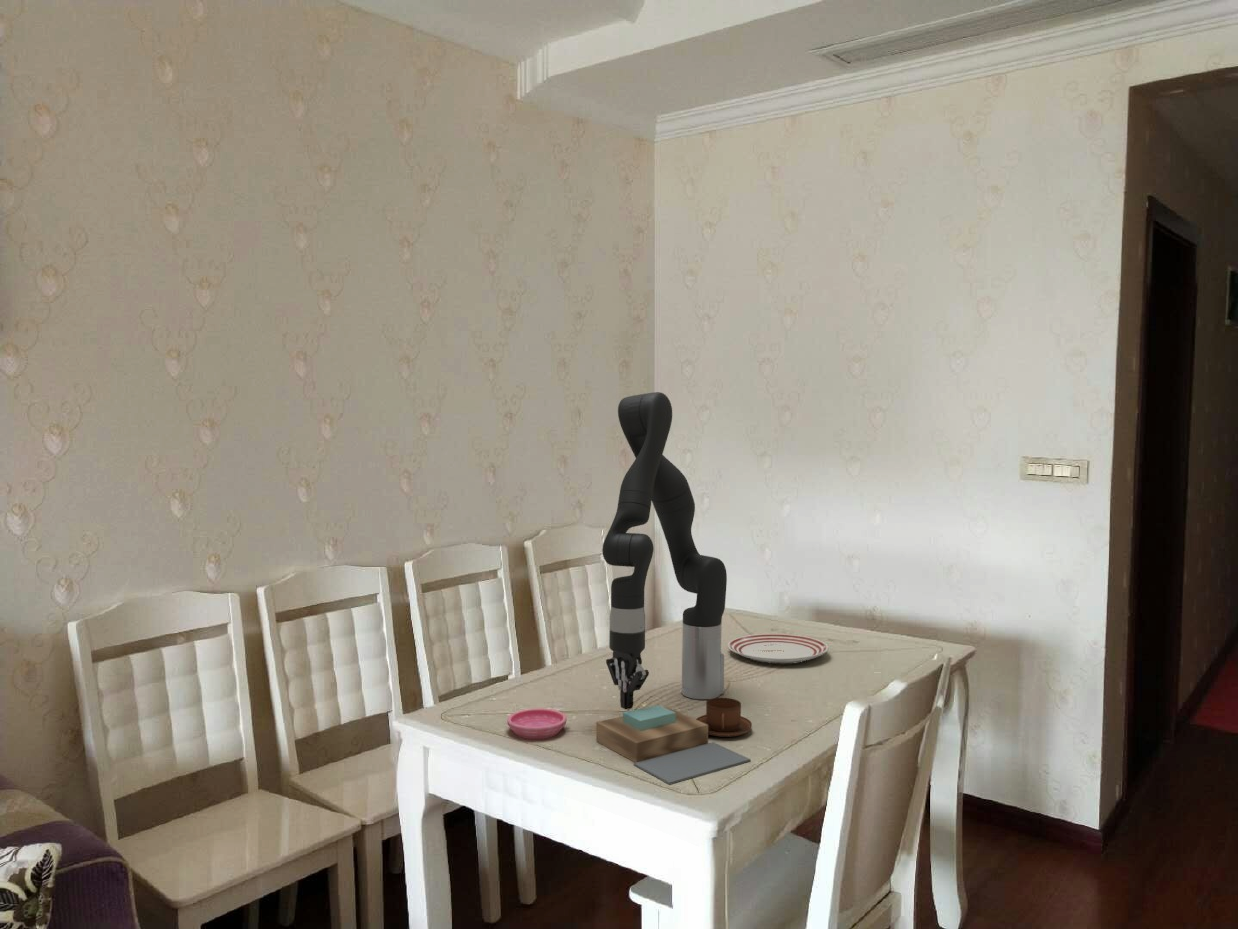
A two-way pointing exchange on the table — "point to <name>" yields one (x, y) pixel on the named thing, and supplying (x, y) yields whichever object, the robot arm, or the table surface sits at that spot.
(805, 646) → the dinner plate
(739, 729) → the cup and saucer
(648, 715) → the teal rectangular block
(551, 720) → the pink round bowl
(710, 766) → the mat
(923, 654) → the table surface
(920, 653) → the table surface
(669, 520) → the robot arm
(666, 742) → the wooden block
